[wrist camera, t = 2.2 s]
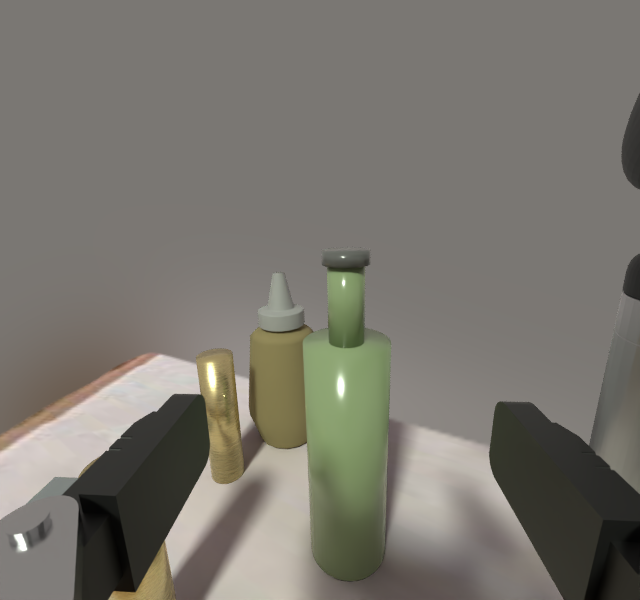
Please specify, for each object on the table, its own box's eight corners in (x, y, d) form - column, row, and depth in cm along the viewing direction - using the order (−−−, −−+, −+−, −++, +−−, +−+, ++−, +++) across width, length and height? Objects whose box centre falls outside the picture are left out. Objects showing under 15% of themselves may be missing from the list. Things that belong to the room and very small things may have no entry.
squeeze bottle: (255, 413, 41) (242, 268, 36) (321, 409, 42) (317, 265, 37) (246, 461, 33) (228, 283, 28) (327, 454, 34) (323, 279, 29)
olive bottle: (380, 512, 27) (387, 244, 22) (389, 583, 22) (401, 255, 16) (314, 509, 28) (304, 245, 22) (307, 579, 22) (292, 257, 17)
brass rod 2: (248, 460, 33) (236, 348, 30) (238, 484, 30) (225, 363, 27) (218, 459, 33) (204, 348, 30) (206, 483, 31) (189, 363, 27)
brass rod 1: (190, 612, 21) (160, 447, 18) (165, 677, 18) (124, 494, 15) (143, 609, 21) (106, 446, 18) (111, 672, 18) (60, 492, 15)
